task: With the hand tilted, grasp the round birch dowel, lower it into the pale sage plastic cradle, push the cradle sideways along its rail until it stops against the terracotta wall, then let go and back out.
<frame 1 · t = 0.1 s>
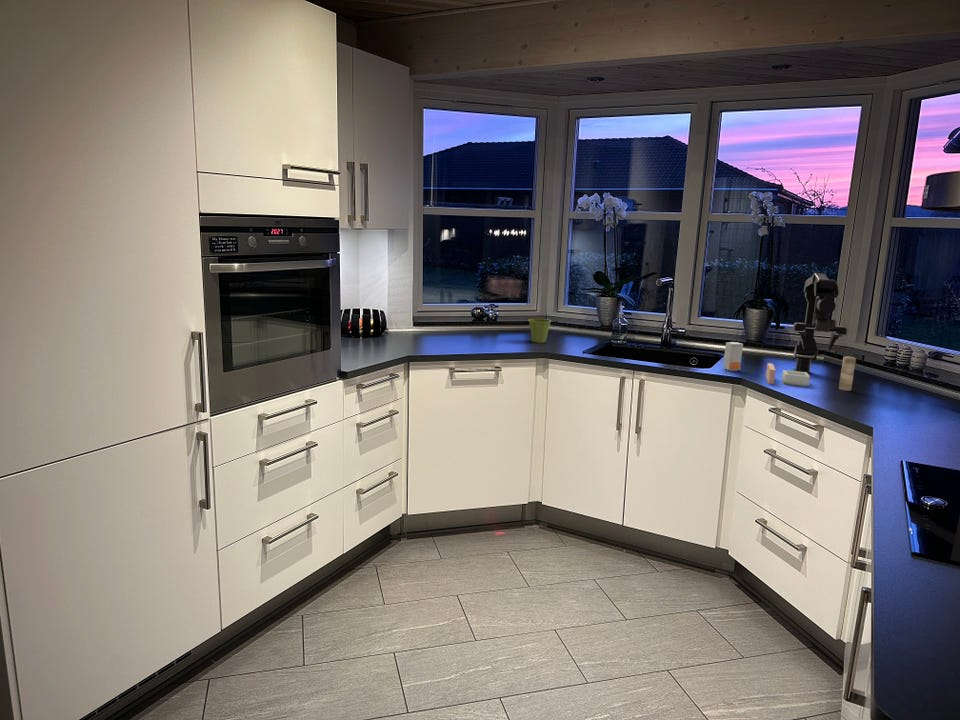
hand: (816, 349, 270), 15 cm above the countertop, tool pointing down, fingers open, 9 cm apart
backstop wall: (769, 380, 278), on the countertop
skincare box: (731, 370, 297), on the countertop
dowel: (844, 389, 268), on the countertop
cradle: (795, 378, 275), point 2 cm above the countertop, slide at 0.0 cm
plant pot: (538, 342, 347), on the countertop
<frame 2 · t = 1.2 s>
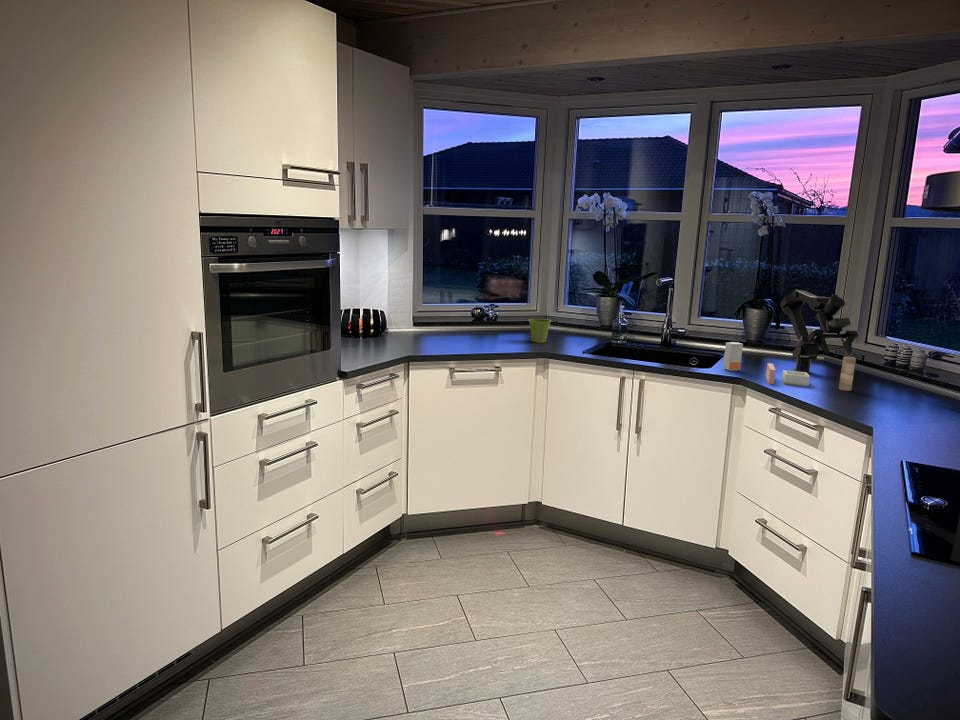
hand: (839, 353, 272), 13 cm above the countertop, tool tilted 45°, fingers open, 9 cm apart
nothing on the countertop moved.
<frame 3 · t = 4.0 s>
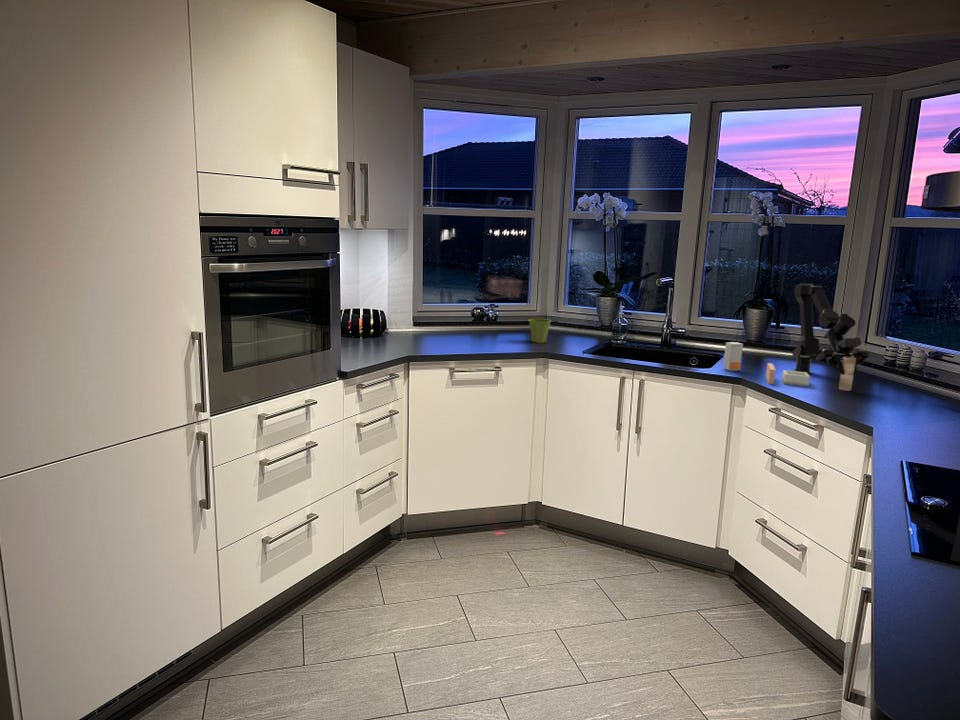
hand: (849, 374, 265), 7 cm above the countertop, tool tilted 45°, fingers closed on dowel, 4 cm apart
dowel: (844, 389, 268), on the countertop, touching gripper
everything else where it was.
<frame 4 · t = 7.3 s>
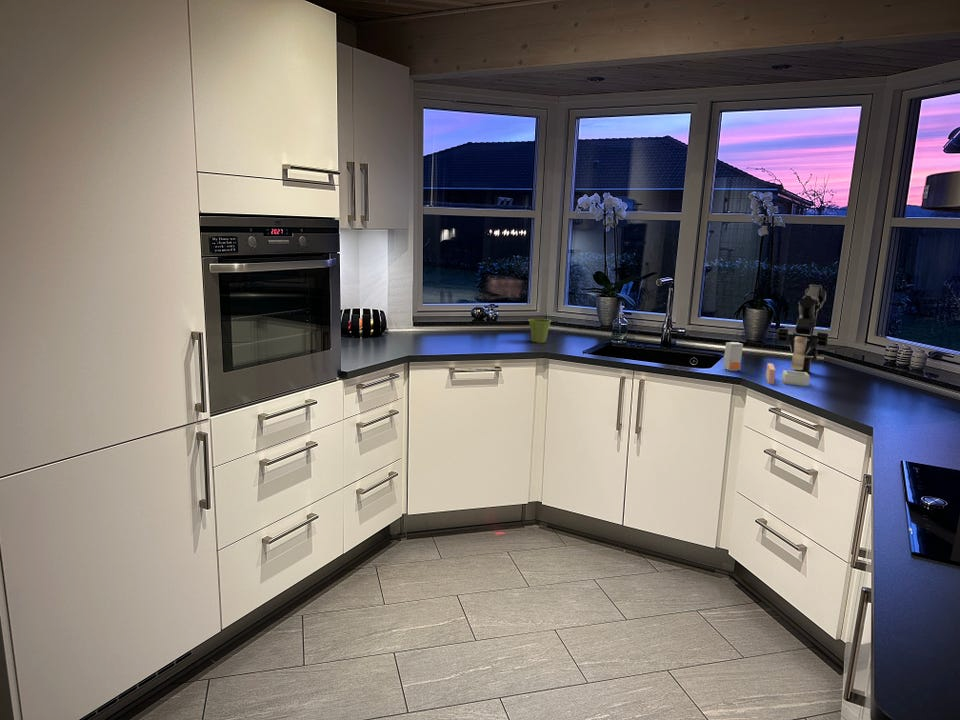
hand: (798, 353, 272), 13 cm above the countertop, tool tilted 45°, fingers closed on dowel, 4 cm apart
dowel: (796, 368, 274), point 6 cm above the countertop, touching gripper
everything else where it was.
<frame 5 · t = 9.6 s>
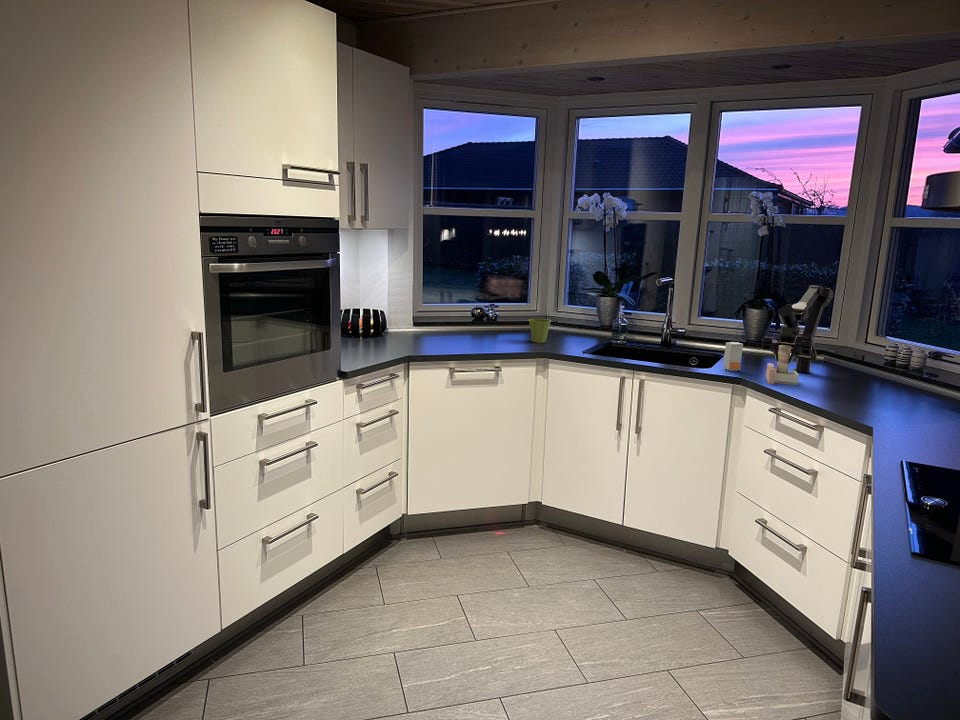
hand: (782, 361, 274), 9 cm above the countertop, tool tilted 45°, fingers closed on dowel, 4 cm apart
dowel: (781, 377, 276), point 2 cm above the countertop, touching cradle, gripper
cradle: (784, 377, 276), point 2 cm above the countertop, slide at 4.0 cm, touching backstop wall, dowel
everything else where it was.
when the fingers open (9 cm above the countertop, at t = 10.8 s): dowel stays where it is, resting on cradle.
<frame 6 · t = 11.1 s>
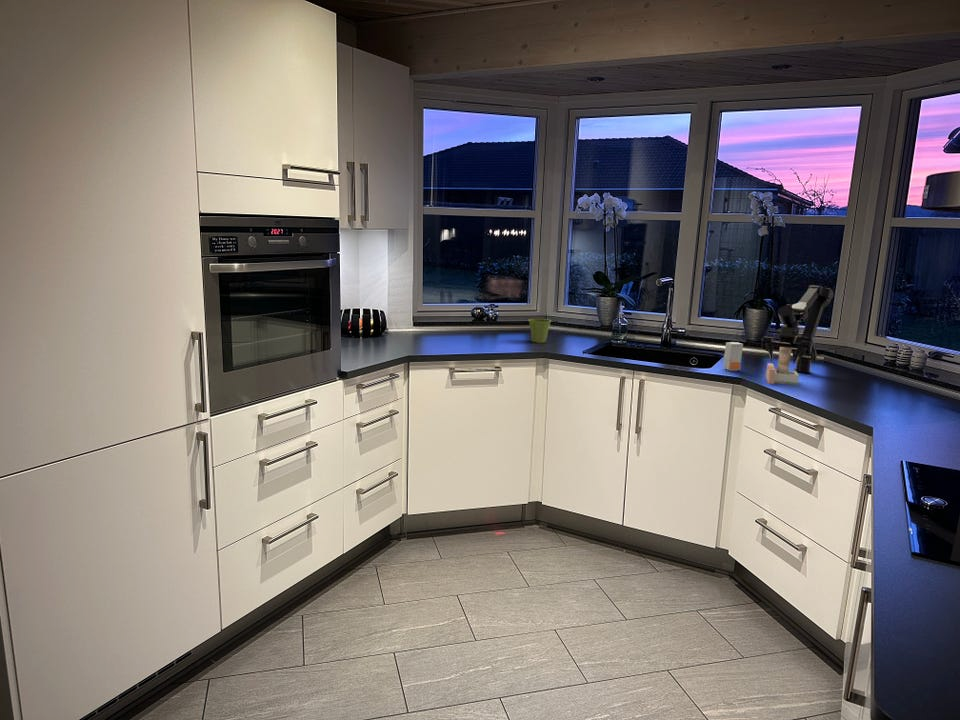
hand: (782, 361, 274), 9 cm above the countertop, tool tilted 45°, fingers open, 8 cm apart
dowel: (781, 379, 276), point 1 cm above the countertop, touching cradle
cradle: (784, 377, 276), point 2 cm above the countertop, slide at 4.0 cm, touching dowel
everything else where it was.
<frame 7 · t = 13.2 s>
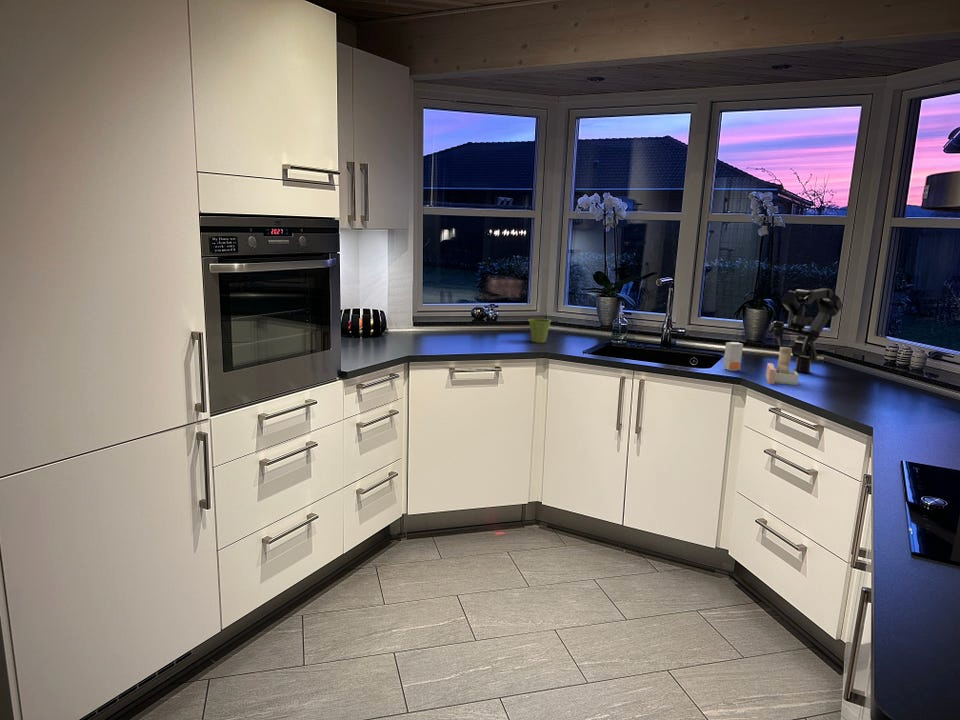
hand: (792, 349, 281), 13 cm above the countertop, tool tilted 35°, fingers open, 9 cm apart
nothing on the countertop moved.
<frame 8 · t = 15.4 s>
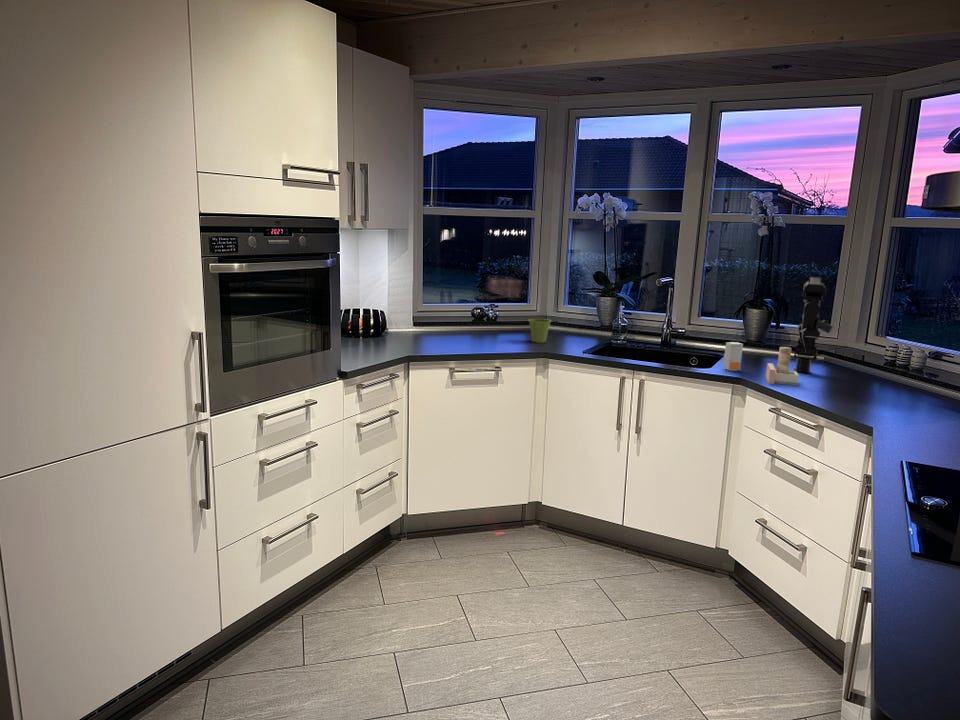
hand: (805, 350, 283), 12 cm above the countertop, tool pointing down, fingers open, 9 cm apart
nothing on the countertop moved.
at the end: dowel 1.1 cm off-centre on the cradle, point 1.0 cm above the cradle's base; cradle slide at 4.0 cm; dowel tilted 1° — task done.
